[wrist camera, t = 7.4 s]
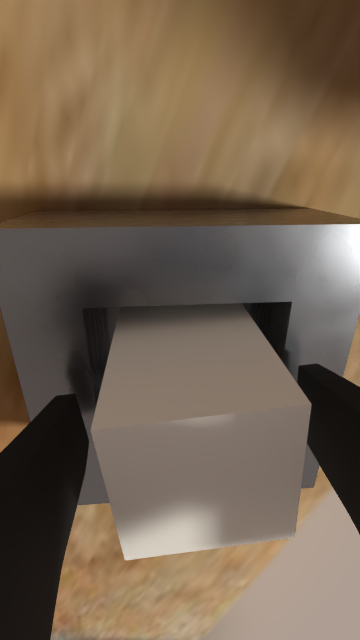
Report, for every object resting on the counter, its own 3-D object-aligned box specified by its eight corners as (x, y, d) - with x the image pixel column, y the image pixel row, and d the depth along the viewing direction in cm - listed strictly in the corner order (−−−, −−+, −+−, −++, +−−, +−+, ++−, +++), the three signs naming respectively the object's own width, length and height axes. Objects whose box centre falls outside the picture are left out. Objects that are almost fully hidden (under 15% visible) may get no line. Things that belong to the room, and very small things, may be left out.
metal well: (310, 208, 13) (382, 224, 9) (276, 415, 18) (313, 487, 14) (37, 210, 12) (-21, 228, 8) (76, 426, 17) (52, 506, 13)
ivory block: (226, 281, 13) (311, 403, 6) (227, 366, 15) (294, 537, 8) (124, 291, 13) (90, 430, 6) (137, 376, 15) (124, 560, 8)
